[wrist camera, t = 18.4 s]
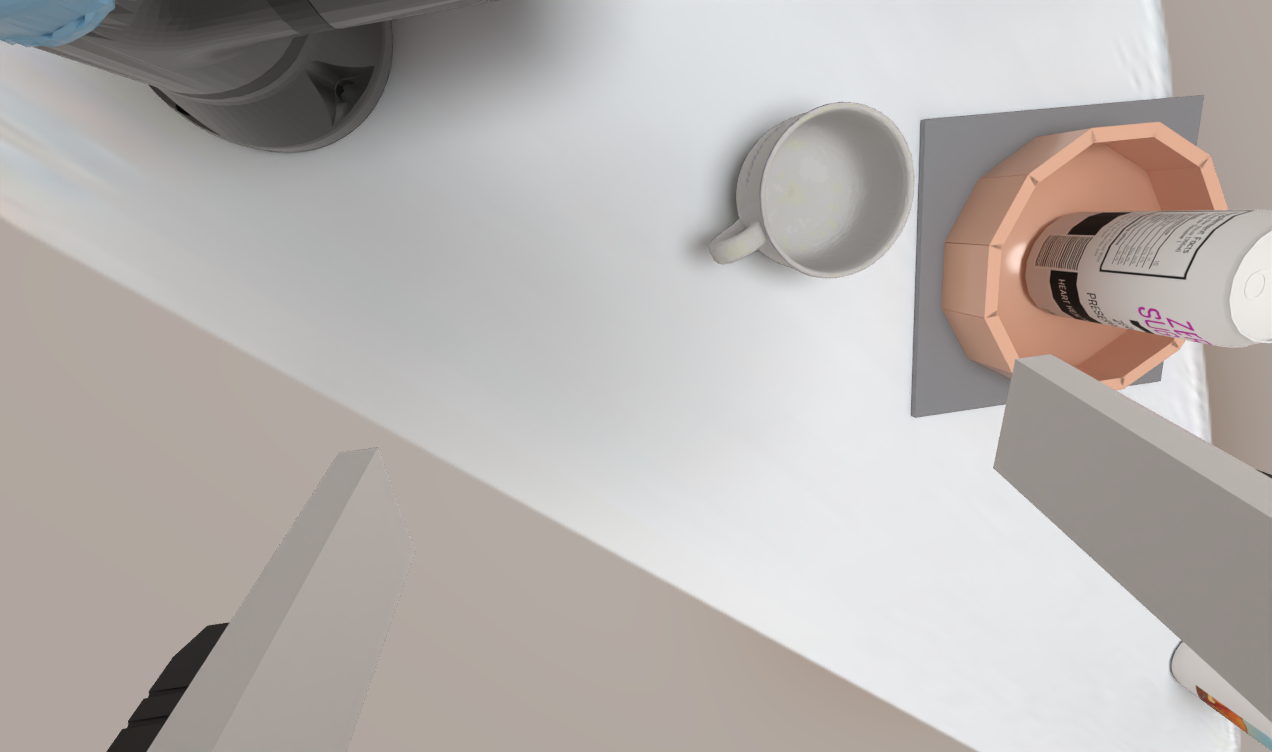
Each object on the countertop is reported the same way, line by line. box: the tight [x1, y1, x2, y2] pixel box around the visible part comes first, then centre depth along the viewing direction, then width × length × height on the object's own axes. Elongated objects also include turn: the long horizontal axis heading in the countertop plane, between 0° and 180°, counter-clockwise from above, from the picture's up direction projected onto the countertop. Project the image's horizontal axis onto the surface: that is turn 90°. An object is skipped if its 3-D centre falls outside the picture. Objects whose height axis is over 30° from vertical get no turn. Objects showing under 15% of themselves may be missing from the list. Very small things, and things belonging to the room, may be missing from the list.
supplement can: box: [1025, 210, 1272, 348], centre depth 41 cm, size 8×8×15 cm
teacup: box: [709, 102, 915, 278], centre depth 41 cm, size 14×11×8 cm
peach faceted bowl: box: [911, 95, 1228, 418], centre depth 47 cm, size 24×24×6 cm
